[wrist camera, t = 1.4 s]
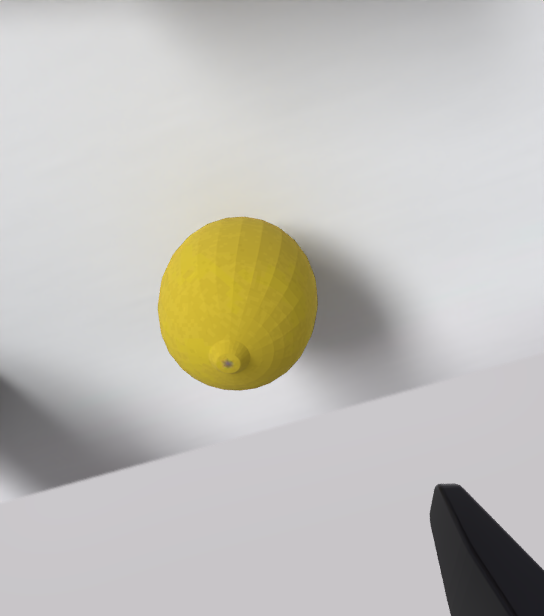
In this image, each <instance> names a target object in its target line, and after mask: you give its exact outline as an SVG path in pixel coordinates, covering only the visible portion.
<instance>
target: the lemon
mask: <svg viewBox="0 0 544 616" xmlns="http://www.w3.org/2000/svg"><path fill="white" fill-rule="evenodd" d="M317 306H318V301H317V289H316V280H315V276H314V274H313V271H312V269H311V266H310V263H309V261H308V258H307V256H306V255H305V254H304V252H303V251H302V250H301V248H300V247H299V246H298V244H297V243H296V242H295V240H294V239H292V238H291V237H290V236H289V235H288V234H286V233H285V232H284V231H283V230H281V229H280V228H279V227H277V226H274V225H272V224H270V223H268V222H266V221H264V220H260V219H254V218H249V217H233V218H225V219H222V220H218V221H215V222H212V223H209V224H207V225H205V226H204V227H202V228H201V229H199V230H198V231H196V232H194V233H193V234H191V235H190V236H189V237H188V238H187V239H186V240H185V241H184V242H183V244H182V245H181V246H180V247H179V248H178V249H177V250H176V251H175V253H174V254H173V256H172V258H171V260H170V262H169V264H168V266H167V268H166V270H165V273H164V275H163V277H162V281H161V287H160V294H159V302H158V314H159V321H160V328H161V334H162V337H163V339H164V342H165V344H166V346H167V348H168V351H169V353H170V354H171V356H172V357H173V358H174V359H175V361H176V362H177V363H178V364H179V366H180V367H181V368H182V369H183V370H184V371H186V372H187V373H188V374H189V375H191V376H192V377H193V378H194V379H196V380H198V381H200V382H202V383H204V384H207V385H209V386H212V387H216V388H220V389H224V390H247V389H254V388H258V387H260V386H263V385H266V384H268V383H271V382H272V381H274V380H275V379H277V378H278V377H280V376H281V375H283V374H284V373H286V372H287V371H288V370H289V369H290V368H291V367H292V366H293V365H294V364H295V363H296V361H297V360H298V359H299V358H300V357H301V355H302V353H303V351H304V349H305V347H306V345H307V343H308V341H309V339H310V337H311V335H312V332H313V328H314V323H315V318H316V313H317Z"/></svg>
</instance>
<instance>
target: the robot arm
mask: <svg viewBox="0 0 544 616" xmlns="http://www.w3.org/2000/svg"><path fill="white" fill-rule="evenodd" d="M430 523H431V529H432V533H433V537H434V541H435V546H436V551H437V556H438V560H439V565H440V569H441V574H442V578H443V583H444V587H445V592H446V596H447V601H448V605H449V609H450V613H451V616H544V570H543V569H542V568H541V567H540V566H539V565H538V564H537V563H536V562H535V561H534V560H533V559H532V558H531V557H530V556H529V555H528V554H527V553H526V552H525V551H524V550H523V549H522V548H521V547H520V546H519V545H518V544H517V543H516V542H515V541H514V540H513V538H512V537H511V536H510V535H509V534H508V533H507V532H506V531H505V530H504V529H503V528H502V527H501V526H500V525H499V524H498V523H497V522H496V521H495V520H494V519H493V518H492V517H491V516H490V515H489V514H488V513H487V512H486V511H485V510H484V509H483V508H482V507H481V506H480V505H479V504H478V503H477V502H476V501H475V500H474V499H473V498H472V497H471V496H470V495H469V494H468V493H467V492H466V491H465V490H464V489H463V488H462V487H461V486H460V485H458V484H438V485H437V486H436V487H435V489H434V494H433V500H432V505H431V510H430Z"/></svg>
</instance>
